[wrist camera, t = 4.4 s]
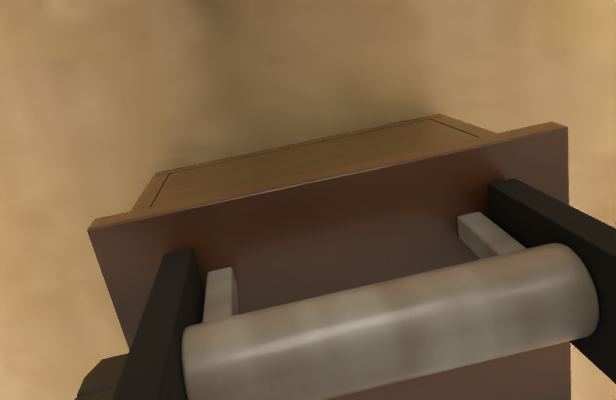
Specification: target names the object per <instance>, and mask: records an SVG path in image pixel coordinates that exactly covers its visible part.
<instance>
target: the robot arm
mask: <svg viewBox="0 0 616 400" xmlns="http://www.w3.org/2000/svg"><path fill="white" fill-rule="evenodd" d="M488 192H489V205H490V217H491V221H492V222H493V223H495V224H496V225H497V226H499V227H500V228H501V229H502V230H504V231H505V232H506V233H507V234H509V235H510V236H511V237H513V238H514V239H515V240H516V241H518V242H519V243H520V244H522V245H523V246H524V247H525V248H527V249H528V248H532V247H537V246H541V245H545V244H550V243H560V244H564V245H566V246H568V247H569V248H571V249H572V250H573V251H574V252H575V253H576V254H577V255H578V256H579V257H580V258H581V260H582V261H583V263H584V264H585V266H586V267H587V269H588V271H589V273H590V275H591V277H592V280H593V282H594V285H595V288H596V291H597V295H598V300H599V310H600V315H599V322H598V325H597V328H596V330H595V331H594V332H593V333H592V334H591V335H589V336H588V337H584V338H580V339H576V340H572V341H569V342H571V343H572V344H573V345H574V346H575V347H576V348H577V349H578V350H579V351H580V352H581V353H583V354H584V355H585V356H586V357H587V358H588V359H589V360H590V361H591V362H592V363H593V364H595V365H596V366H597V367H598V368H599V369H600V370H601V371H602V372H603V373H604V374H606V375H607V376H608V377H609V378H610V379H611V380H612V381H613V382H614V383H615V384H616V229H615V228H613V227H611V226H609V225H607V224H605V223H603V222H601V221H599V220H597V219H595V218H593V217H591V216H589V215H587V214H585V213H583V212H581V211H579V210H577V209H575V208H573V207H571V206H569V205H567V204H565V203H563V202H561V201H559V200H557V199H555V198H553V197H551V196H549V195H547V194H545V193H543V192H541V191H539V190H537V189H535V188H533V187H531V186H529V185H527V184H525V183H523V182H521V181H519V180H517V179H515V178H512V179H508V180H503V181H498V182H494V183H489V184H488ZM204 301H205V291H204V288H203V284H202V280H201V277H200V273H199V269H198V266H197V262H196V258H195V255H194V251H193V248H189V249H185V250H180V251H175V252H171V253H166V254H164V255H163V258H162V261H161V264H160V266H159V269H158V272H157V275H156V278H155V280H154V283H153V286H152V289H151V292H150V294H149V297H148V300H147V303H146V306H145V309H144V311H143V314H142V317H141V320H140V323H139V325H138V328H137V331H136V334H135V337H134V340H133V342H132V345H131V348H130V351H129V353H128V354H124V355H120V356H115V357H111V358H106V359H102V360H101V361H100V362H99V363H98V364H97V365H96V366H95V367H94V368H93V369H92V370H91V371H90V372H89V373H88V374H87V376H86V377H85V378H84V380H83V383H82V385H81V387H80V389H79V391H78V394H77V398H75V400H188V399H187V395H186V391H185V385H184V379H183V372H182V361H181V342H182V336H183V332H184V330H185V328H187V327H188V326H191V325H195V324H199V323H202V320H203V311H204Z"/></svg>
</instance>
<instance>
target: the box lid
mask: <svg viewBox="0 0 616 400" xmlns="http://www.w3.org/2000/svg"><path fill="white" fill-rule="evenodd" d="M512 178H515V179H517V180H519V181H521V182H523V183H525V184H527V185H529V186H531V187H533V188H535V189H537V190H539V191H541V192H543V193H545V194H547V195H549V196H551V197H553V198H555V199H557V200H559V201H561V202H563V203H565V204H567V205H569V179H568V127H566V126H563V125H560V124H557V123H554V122H548V123H544V124H539V125H534V126H530V127H525V128H520V129H516V130H511V131H506V132H501V133H497V134H492V135H487V136H483V137H478V138H473V139H469V140H464V141H459V142H454V143H450V144H445V145H440V146H436V147H431V148H426V149H422V150H417V151H412V152H408V153H403V154H398V155H393V156H389V157H384V158H379V159H375V160H370V161H365V162H361V163H356V164H351V165H346V166H342V167H337V168H332V169H328V170H323V171H318V172H314V173H309V174H304V175H300V176H295V177H290V178H285V179H281V180H276V181H271V182H267V183H262V184H257V185H253V186H248V187H243V188H238V189H234V190H229V191H224V192H220V193H215V194H210V195H206V196H201V197H196V198H191V199H187V200H182V201H177V202H173V203H168V204H163V205H159V206H154V207H149V208H145V209H140V210H135V211H130V212H126V213H121V214H116V215H112V216H107V217H102V218H98V219H95V220H94V221H93V222H92V224H91V225H90V227H89V228H88V229H87V231H88V234H89V237H90V240H91V243H92V246H93V248H94V251H95V254H96V257H97V260H98V263H99V265H100V268H101V271H102V274H103V277H104V279H105V282H106V285H107V288H108V291H109V294H110V296H111V299H112V302H113V305H114V308H115V311H116V313H117V316H118V319H119V322H120V325H121V328H122V330H123V333H124V336H125V339H126V342H127V344H128V347H129V350H130V348H131V345H132V342H133V340H134V337H135V334H136V331H137V328H138V325H139V323H140V320H141V317H142V314H143V311H144V309H145V306H146V303H147V300H148V297H149V294H150V292H151V289H152V286H153V283H154V280H155V278H156V275H157V272H158V269H159V266H160V264H161V261H162V258H163V255H164V254H166V253H171V252H175V251H180V250H185V249H189V248H193V251H194V255H195V258H196V262H197V266H198V269H199V273H200V277H201V280H202V284H203V288H204V291H205V301H204V311H203V320H202V323H199V324H195V325H191V326H188V327H187V328H185V330H184V332H183V336H182V342H181V361H182V372H183V379H184V385H185V391H186V395H187V399H188V400H571V372H570V342H569V341H572V340H576V339H580V338H584V337H588V336H589V335H591V334H592V333H593V332H594V331H595V330H596V328H597V325H598V322H599V315H600V310H599V300H598V295H597V291H596V288H595V285H594V282H593V280H592V277H591V275H590V273H589V271H588V269H587V267H586V266H585V264H584V263H583V261H582V260H581V258H580V257H579V256H578V255H577V254H576V253H575V252H574V251H573V250H572V249H571V248H569V247H568V246H566V245H564V244H560V243H550V244H545V245H541V246H537V247H532V248H528V249H527V248H525V247H524V246H523V245H522V244H520V243H519V242H518V241H516V240H515V239H514V238H513V237H511V236H510V235H509V234H507V233H506V232H505V231H504V230H502V229H501V228H500V227H499V226H497V225H496V224H495V223H493V222H492V221H491V217H490V205H489V192H488V184H489V183H494V182H498V181H503V180H508V179H512Z"/></svg>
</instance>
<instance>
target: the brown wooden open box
mask: <svg viewBox="0 0 616 400" xmlns="http://www.w3.org/2000/svg"><path fill="white" fill-rule="evenodd" d="M492 134H497V133H495V132H492V131H489V130H486V129H483V128H480V127H477V126H474V125H471V124H468V123H465V122H462V121H459V120H456V119H453V118H450V117H447V116H444V115H441V114H437V115H432V116H427V117H422V118H418V119H413V120H408V121H403V122H399V123H394V124H389V125H384V126H379V127H375V128H370V129H365V130H360V131H355V132H351V133H346V134H341V135H336V136H332V137H327V138H322V139H317V140H312V141H308V142H303V143H298V144H293V145H288V146H284V147H279V148H274V149H269V150H264V151H260V152H255V153H250V154H245V155H241V156H236V157H231V158H226V159H221V160H217V161H212V162H207V163H202V164H197V165H193V166H188V167H183V168H178V169H174V170H169V171H164V172H159V173H156V174H155V175H154V177H153V178H152V180H151V181H150V183H149V184H148V186H147V187H146V189H145V190H144V192H143V193H142V195H141V196H140V198H139V199H138V201H137V202H136V204H135V205H134V207H133V208H132V210H131V211H135V210H140V209H145V208H149V207H154V206H159V205H163V204H168V203H173V202H177V201H182V200H187V199H191V198H196V197H201V196H206V195H210V194H215V193H220V192H224V191H229V190H234V189H238V188H243V187H248V186H253V185H257V184H262V183H267V182H271V181H276V180H281V179H285V178H290V177H295V176H300V175H304V174H309V173H314V172H318V171H323V170H328V169H332V168H337V167H342V166H346V165H351V164H356V163H361V162H365V161H370V160H375V159H379V158H384V157H389V156H393V155H398V154H403V153H408V152H412V151H417V150H422V149H426V148H431V147H436V146H440V145H445V144H450V143H454V142H459V141H464V140H469V139H473V138H478V137H483V136H487V135H492Z"/></svg>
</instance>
